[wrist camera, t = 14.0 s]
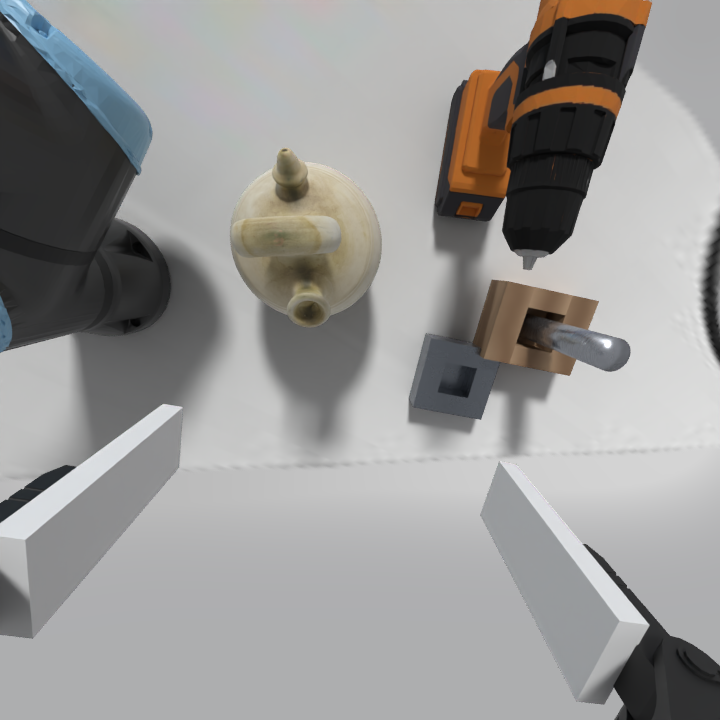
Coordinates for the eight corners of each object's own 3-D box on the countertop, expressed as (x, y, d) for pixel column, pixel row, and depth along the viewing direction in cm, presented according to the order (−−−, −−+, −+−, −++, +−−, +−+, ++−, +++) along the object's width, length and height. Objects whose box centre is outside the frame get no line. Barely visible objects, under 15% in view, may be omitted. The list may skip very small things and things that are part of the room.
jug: (360, 319, 47) (368, 374, 23) (250, 292, 46) (136, 322, 22) (388, 204, 43) (433, 125, 19) (268, 171, 42) (155, 43, 18)
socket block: (408, 397, 50) (412, 407, 47) (425, 333, 48) (431, 338, 44) (472, 409, 51) (481, 419, 48) (492, 346, 48) (503, 352, 45)
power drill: (476, 272, 46) (614, 278, 22) (422, 265, 45) (502, 263, 21) (514, 85, 40) (760, -190, 16) (453, 76, 40) (610, -221, 15)
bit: (510, 334, 47) (591, 368, 32) (517, 311, 46) (604, 335, 31) (531, 338, 47) (622, 374, 32) (539, 316, 46) (635, 341, 31)
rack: (470, 349, 48) (483, 358, 44) (491, 279, 46) (508, 281, 41) (548, 365, 49) (569, 375, 45) (573, 297, 47) (598, 301, 42)
